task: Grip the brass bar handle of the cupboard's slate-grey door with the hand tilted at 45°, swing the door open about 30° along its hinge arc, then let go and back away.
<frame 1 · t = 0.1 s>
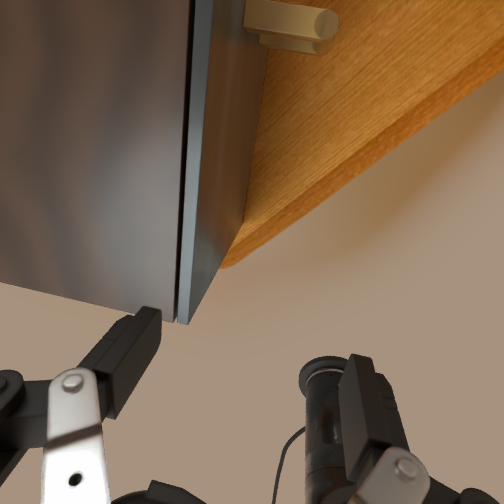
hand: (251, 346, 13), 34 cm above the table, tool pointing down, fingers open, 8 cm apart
cupboard: (181, 120, 43), on the table
door: (266, 152, 31), point 12 cm above the table, hinge at 0.0°
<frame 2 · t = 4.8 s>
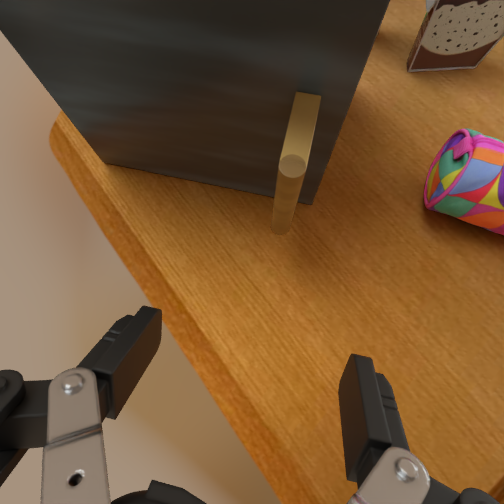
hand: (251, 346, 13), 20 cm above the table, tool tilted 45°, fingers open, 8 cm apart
door: (173, 138, 26), point 12 cm above the table, hinge at 0.0°
food container: (435, 54, 45), on the table
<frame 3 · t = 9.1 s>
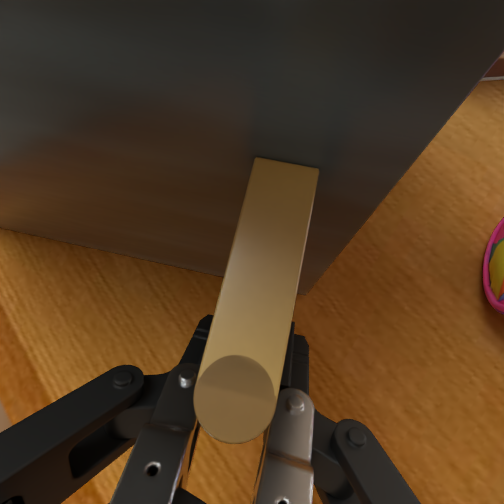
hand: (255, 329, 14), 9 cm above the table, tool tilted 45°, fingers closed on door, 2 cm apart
door: (10, 238, 12), point 12 cm above the table, hinge at 0.0°, touching gripper
food container: (482, 57, 31), on the table
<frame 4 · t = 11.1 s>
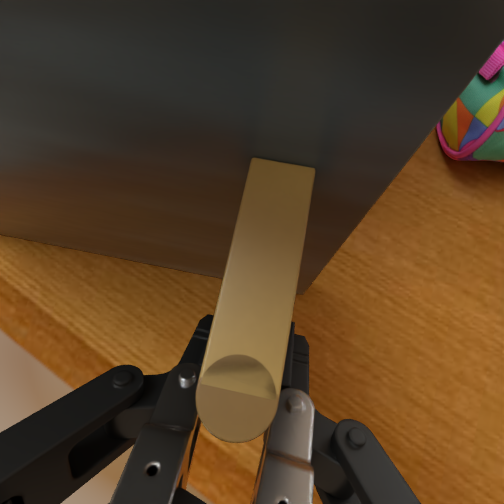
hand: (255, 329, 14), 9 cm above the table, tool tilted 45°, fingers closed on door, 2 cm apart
door: (5, 243, 12), point 12 cm above the table, hinge at 17.3°, touching gripper
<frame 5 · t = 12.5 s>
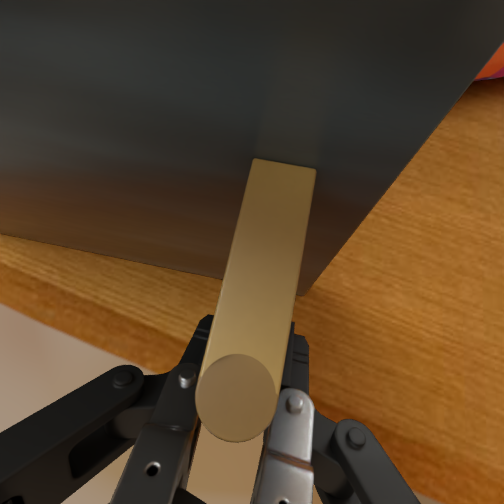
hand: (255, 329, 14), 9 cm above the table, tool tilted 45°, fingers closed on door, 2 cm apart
door: (7, 242, 12), point 12 cm above the table, hinge at 29.5°, touching gripper
pencil case: (489, 62, 32), on the table
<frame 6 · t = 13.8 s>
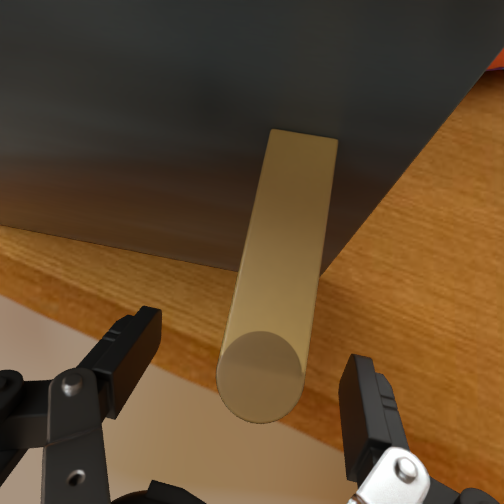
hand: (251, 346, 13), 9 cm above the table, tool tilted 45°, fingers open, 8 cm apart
door: (12, 226, 12), point 12 cm above the table, hinge at 28.7°
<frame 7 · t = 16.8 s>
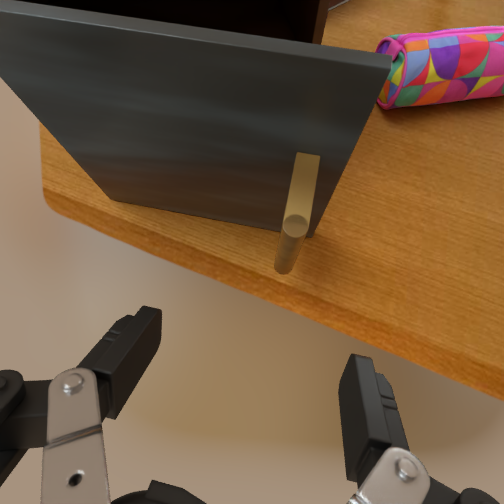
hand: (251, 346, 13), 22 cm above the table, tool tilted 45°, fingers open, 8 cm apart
cupboard: (192, 114, 45), on the table
door: (181, 190, 27), point 12 cm above the table, hinge at 28.7°
pencil case: (439, 90, 46), on the table
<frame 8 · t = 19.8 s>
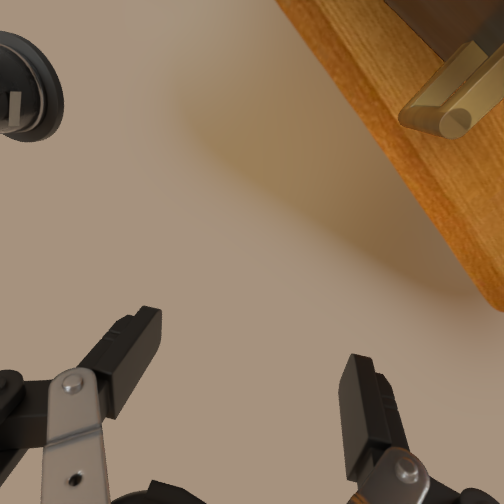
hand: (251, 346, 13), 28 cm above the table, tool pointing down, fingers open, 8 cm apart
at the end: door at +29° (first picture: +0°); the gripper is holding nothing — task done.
